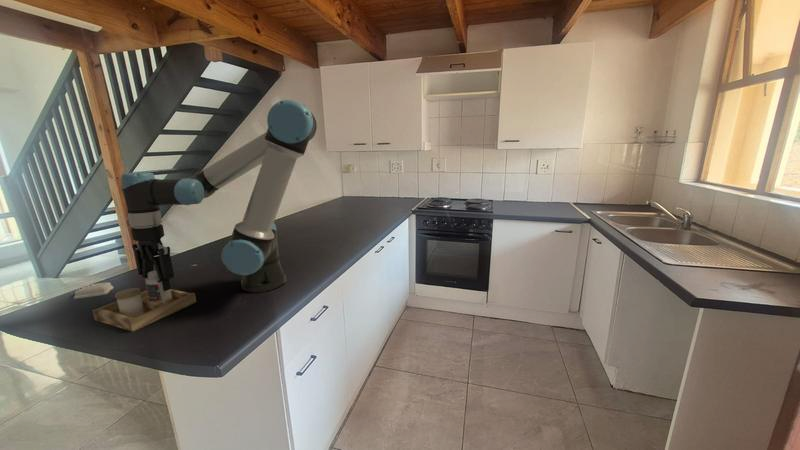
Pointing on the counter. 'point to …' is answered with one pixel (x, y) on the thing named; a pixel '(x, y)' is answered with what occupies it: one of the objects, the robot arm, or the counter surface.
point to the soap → (93, 290)
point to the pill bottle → (153, 287)
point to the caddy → (151, 309)
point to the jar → (130, 302)
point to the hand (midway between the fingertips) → (160, 297)
